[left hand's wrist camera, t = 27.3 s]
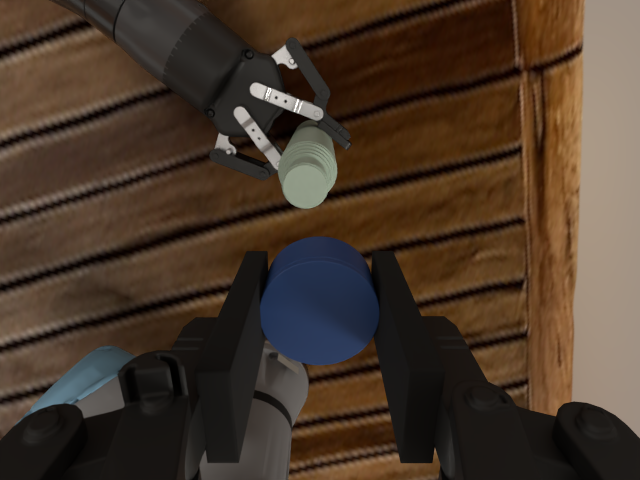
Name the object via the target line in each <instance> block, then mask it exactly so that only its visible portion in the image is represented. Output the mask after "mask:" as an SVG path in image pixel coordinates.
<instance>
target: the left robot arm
mask: <svg viewBox="0 0 640 480" xmlns="http://www.w3.org/2000/svg"><path fill="white" fill-rule="evenodd" d="M267 275H268V255H267V251H247V252H246V254H245V257H244V259H243V261H242V263H241V266H240V268H239V270H238V273H237V275H236V277H235V279H234V282H233V284H232V286H231V288H230V291H229V293H228V295H227V298H226V300H225V302H224V304H223V307H222V309H221V311H220V313H219V316H218V318H195V319H193V320H192V321H191V322H190V323H188V324H187V325H186V326H185V327H183V329H182V331H181V333H180V334H179V336H178V338H177V341H176V342H175V343H174V345H173V347H172V351H153V352H148V353H144V354H142V355H140V356H138V357H136V356H134V355H132V354H130V353H128V352H126V351H124V350H123V349H121V348H119V347H116V346H110V345H108V346H102V347H99V348H97V349H95V350H94V351H92V352H90V353H89V354H88V355H86V356H85V357H84V358H83V359H81V360H80V361H79V362H78V363H77V364H76V365H75V366H73V367H72V368H71V369H70V370H69V371H68V372H67V373H66V374H65V375H63V376H62V377H61V378H60V379H59V380H58V381H57V382H56V383H55V384H54V385H53V386H52V387H51V388H50V389H49V390H48V391H47V392H46V393H45V394H44V395H43V396H42V397H41V398H40V399H39V400H38V401H37V402H36V403H35V404H34V405H33V406H32V408H31V410H30V411H28V412H27V413H26V414H25V415H24V417H23V418H22V419H21V420H19V421H18V422H17V423H16V424H15V425H14V427H13V428H12V429H11V430H10V431H9V432H8V433H7V434H6V435H5V436H4V437H3V438H2V439H1V440H0V480H288V476H289V463H290V450H291V437H292V427H293V425H294V423H295V421H296V419H297V417H298V415H299V413H300V410H301V408H302V407H303V405H304V403H305V401H306V398H307V395H308V388H309V374H308V369H307V366H306V364H305V363H301V362H298V361H295V360H292V359H290V358H288V357H286V356H285V355H283V354H281V353H280V352H279V351H278V350H276V349H275V348H274V347H273V346H272V345H271V344H270V342H269V341H268V340H267V338H266V336H265V334H264V333H263V330H262V328H261V316H260V301H261V297H262V293H263V290H264V286H265V282H266V279H267ZM371 276H372V280H373V283H374V287H375V291H376V295H377V298H378V302H379V308H380V309H379V323H378V327H377V330H376V332H375V334H374V340H375V345H376V349H377V354H378V359H379V364H380V368H381V373H382V378H383V382H384V387H385V392H386V396H387V401H388V406H389V410H390V415H391V420H392V424H393V429H394V434H395V438H396V443H397V448H398V452H399V457H400V462H401V463H432V462H433V455H434V448H436V452H437V455H438V458H439V461H440V464H441V466H440V472H439V478H438V480H640V438H639V437H638V436H637V435H636V434H635V433H634V432H633V431H632V430H631V429H630V428H629V427H628V426H627V425H626V424H625V423H624V422H623V421H621V420H620V419H619V418H618V417H617V416H615V415H614V414H612V413H610V412H608V411H606V410H604V409H603V408H601V407H597V406H594V405H591V404H588V403H582V402H570V403H565V404H563V405H562V406H561V407H560V408H559V409H558V412H557V415H556V416H551V415H547V414H543V413H539V412H535V411H530V410H527V409H524V408H521V407H518V406H516V405H515V403H514V401H513V400H512V398H511V397H510V395H508V394H507V393H506V392H505V391H504V390H503V389H501V388H500V387H498V386H496V385H494V384H492V383H490V382H488V381H487V379H486V377H485V376H484V374H483V372H482V370H481V369H480V367H479V365H478V363H477V362H476V360H475V358H474V356H473V354H472V353H471V351H470V349H468V346H467V344H466V342H465V340H463V337H462V335H461V333H460V332H459V330H458V328H457V326H456V325H454V324H453V323H452V322H451V321H449V320H448V319H447V318H445V317H444V316H421V314H420V312H419V310H418V307H417V305H416V303H415V300H414V298H413V296H412V294H411V291H410V289H409V287H408V285H407V282H406V280H405V278H404V275H403V273H402V271H401V269H400V266H399V264H398V262H397V259H396V257H395V255H394V253H393V251H372V269H371Z"/></svg>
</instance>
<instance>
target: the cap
mask: <svg viewBox="0 0 640 480" xmlns="http://www.w3.org/2000/svg"><path fill="white" fill-rule="evenodd" d="M379 309H380V308H379V302H378V298H377V295H376V291H375V287H374V283H373V280H372V276H371V272H370V269H369V267H368V264H367V263H366V261H365V259H364V258H363V257H362V255H361V254H360V253H359V252H358V251H357V250H356V249H354V248H353V247H352V246H350V245H348V244H347V243H345V242H343V241H340V240H337V239H334V238H329V237H310V238H305V239H301V240H299V241H296V242H294V243H292V244H290V245H289V246H287V247H286V248H284V249H283V250H282V251H281V252H280V253H279V254H278V255H277V256H276V258H275V259H274V261H273V262H272V264H271V266H270V269H269V272H268V275H267V279H266V282H265V286H264V290H263V293H262V297H261V301H260V316H261V328H262V330H263V333H264V334H265V336H266V338H267V340H268V341H269V342H270V344H271V345H272V346H273V347H274V348H275V349H276V350H278V351H279V352H280V353H281V354H283V355H285V356H286V357H288V358H290V359H292V360H295V361H298V362H301V363H305V364H311V365H327V364H334V363H338V362H341V361H344V360H346V359H348V358H351V357H352V356H354V355H356V354H357V353H359V352H360V351H361V350H362V349H363V348H364V347H365V346H366V345H367V344H368V343H369V342H370V340H371V339H372V338H373V336H374V334H375V332H376V330H377V327H378V323H379Z"/></svg>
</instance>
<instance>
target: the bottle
mask: <svg viewBox="0 0 640 480" xmlns="http://www.w3.org/2000/svg"><path fill="white" fill-rule="evenodd" d="M317 125H318V123H317V122H315V121H314V120H308V121H305V122H303V123H301V124H300V125H299V126H298V127H297V129H296V131H295V132H294V134H293V136H292V138H291V140H290V142H289V143H288V145H287V147H286V149H285V151H284V152H283V154H282V156H281V158H280V161H279V164H278V175H279V179H280V182H281V184H282V190H283V194H284V196H285V197H286V199H287V200H288V201H289V202H290V203H291V204H293V205H294V206H296V207H299V208H307V209H308V208H313V207H315V206H317V205H319V204H320V203H321V202H322V201H323V200H324V199H325V197H326V196H327V193H328V191H329V190H330V189H331V188H332V186H333V185H334V183H335V180H336V177H337V164H336V159H335V154H334V148H333V143H332V138H331V137H330V136H329V135H328V134H326V133H325V132H324V131H323V130H321V129H320V128H319V127H318V126H317Z"/></svg>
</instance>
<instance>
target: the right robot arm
mask: <svg viewBox="0 0 640 480" xmlns="http://www.w3.org/2000/svg"><path fill="white" fill-rule="evenodd" d="M50 1H52V2H54V3H56V4H58V5H60V6H62V7H64V8H66V9H69V10H70V11H72V12H74V13H76V14H78V15H79V16H81V17H82V18H83V19H85V20H86V21H87V22H89V23H90V24H91V25H93V26H94V27H95V28H97V29H98V30H99V31H100V32H102V33H103V34H104V35H106V36H107V37H108V38H110V39H111V40H112V41H113V42H115V43H116V44H117V45H119V46H120V47H121V48H122V49H123V50H124V51H126V52H127V53H128V54H129V55H130V56H131V57H132V58H133V59H134V60H135V61H136V62H137V63H138V64H139V65H140V66H141V67H143V68H144V69H145V70H146V71H148V72H149V73H150V74H152V75H153V76H154V77H156V78H157V79H158V80H160V81H161V82H162V83H164V84H165V85H166V86H167V87H169V88H170V89H171V90H173V91H174V92H175V93H177V94H178V95H179V96H180V97H182V98H183V99H184V100H186V101H187V102H188V103H190V104H191V105H192V106H194V107H195V108H196V109H197V110H199V111H200V112H201V113H203V114H204V115H205V116H207V117H208V118H209V119H210V120H211V121H212V122H213V124H214V125H215V127H216V129H217V131H218V132H219V135H218V139H217V142H216V145H215V149H214V150H212V151H211V152H210V159H211V160H212V161H213V162H216V163H218V164H221V165H224V166H226V167H229V168H231V169H234V170H237V171H239V172H242V173H244V174H247V175H250V176H252V177H255V178H257V179H260V180H266V179H267V178H268V177H270V176H271V175H273V174H275V173H277V172H278V164H279V161H280V158H281V156H282V154H283V151H282V150H281V148H280V147H279V146H278V144H277V143H276V140H275V139H274V137H273V136H272V134H271V133H270V130H271V128H272V127H273V125H274V122H275V119H276V118H277V117H278V116H279V115H281V114H282V113H283V112H284V110H285V109H287V110H289V111H292V112H295V113H298V114H301V115H303V116H306V117H308V118H310V119H313V120H314V121H315V122H317V123H318V125H317V126H318V127H319V128H320V129H321V130H323V131H324V132H325V133H326V134H328V135H329V136H330V137H331V138H332V139H334V140H335V141H336V142H337V143H339V144H340V145H341V146H342V147H343V148H345V149H346V150H348V149H349V148H350V147H351V145H352V144H351V142H350V141H349V140H348V139H349V138H350V137H351V136H350V134H349V133H348V131H347V129H345V128H344V127H343V126H342V125H341V124H339V123H338V122H337V121H336V120H335V119H333V118H332V117H331V116H330V115H329V114H328V113H327V112H326V105H327V101H328V98H329V96H330V90H329V88H328V87H327V85H326V84H325V82H324V81H323V79H322V77H321V76H320V74H319V73H318V71H317V70H316V68H315V67H314V65H313V63H312V62H311V60H310V59H309V57H308V56H307V54H306V53H305V51H304V49H303V48H302V46H301V45H300V43H299V42H298V40H297V39H295V38H289V39H288V40H287V41H286V45H284V46H283V47H282V48H281V49H279V50H278V51H277V52H276V53H274V54H273V55H272V56H270V55H268V54H263V53H260V52H258V51H256V50H255V49H254V48H252V47H251V46H250V45H249V44H248V43H247V42H245V41H244V40H243V39H242V38H241V37H239V36H238V35H237V34H236V33H235V32H233V31H232V30H231V29H230V28H229V27H227V26H226V25H225V24H224V23H223V22H221V21H220V20H219V19H218V18H216V17H215V16H214V15H213V14H212V13H211V12H210V11H209V10H208V9H207V8H206V7H205V6H204V5H203V4H202V3H199V2H198V1H196V0H50ZM280 64H285V65H287V67H289V68H290V69H296V68H297V67H299V69H300V70H301V72H302V73H303V75H304V76H305V78H306V80H307V81H308V83H309V84H310V86H311V87H312V89H313V90H314V92H315V93H316V96H315V99H314V102H313V103H311V102H308V101H306V100H304V99H301V98H299V97H297V96H294V95H292V94H290V93H287V92H286V90H285V86H284V83H283V79H282V76H281V72H280V69H279V66H278V65H280ZM230 136H231V137H251V139H252V140H253V141H254V143H255V144H256V145H257V147H258V148H259V150H260V151H261V152H262V153H264V154H265V156H266V157H267V159H268V160H269V161H268V162H266V163H265V162H262V161H259V160H257V159H254V158H252V157H249V156H247V155H244V154H242V153H239V152H238V148H237V146H236V145H235V144H233V143H232V142H231V140H230Z"/></svg>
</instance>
